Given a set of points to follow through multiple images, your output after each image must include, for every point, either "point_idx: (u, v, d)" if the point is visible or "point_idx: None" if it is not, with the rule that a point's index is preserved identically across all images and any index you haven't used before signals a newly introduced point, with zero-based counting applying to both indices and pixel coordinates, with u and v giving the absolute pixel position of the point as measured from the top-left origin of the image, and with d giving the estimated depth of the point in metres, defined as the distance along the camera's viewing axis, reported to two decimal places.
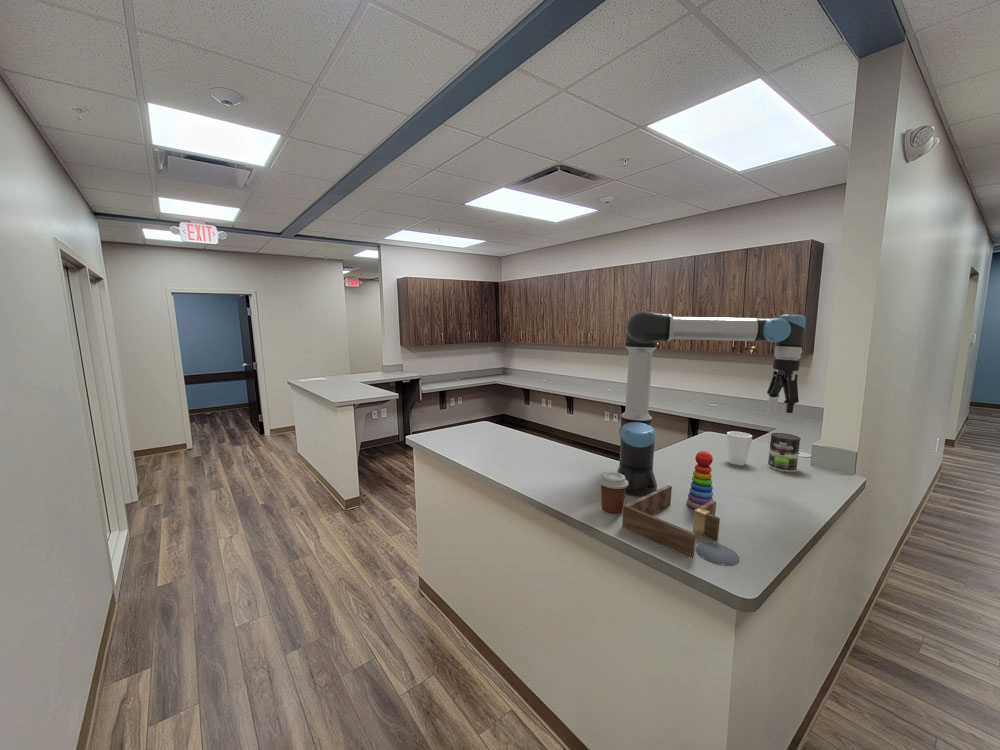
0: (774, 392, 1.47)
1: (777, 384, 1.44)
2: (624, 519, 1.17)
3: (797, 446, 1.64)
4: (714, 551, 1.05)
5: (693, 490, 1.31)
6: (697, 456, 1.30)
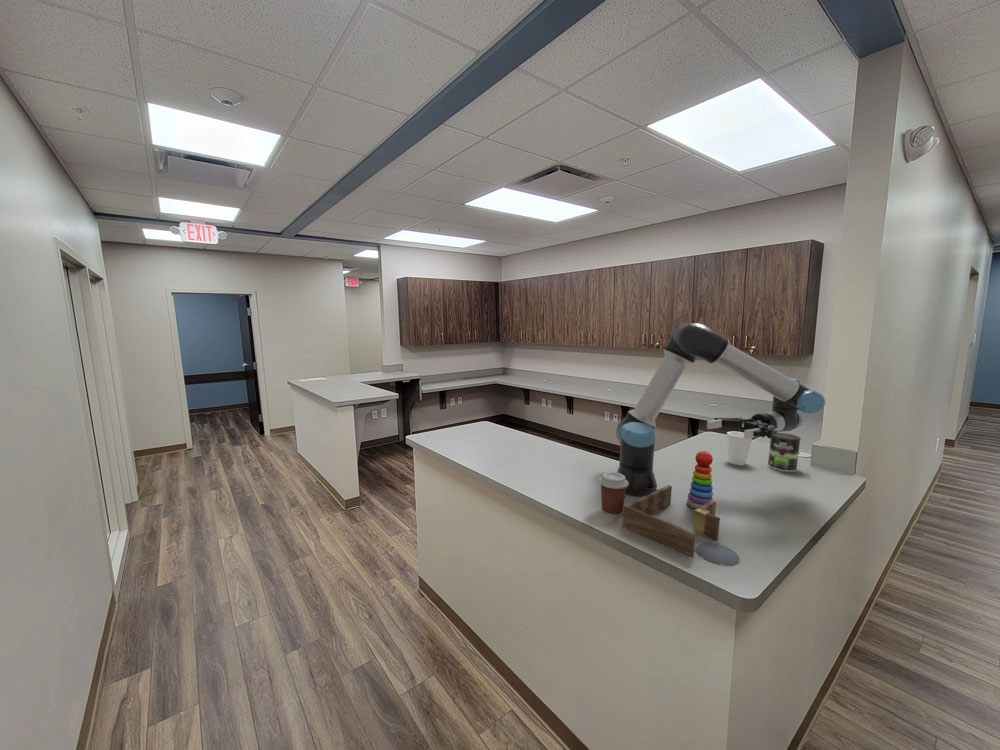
0: (726, 422, 1.42)
1: (740, 422, 1.41)
2: (624, 519, 1.17)
3: (797, 446, 1.64)
4: (714, 551, 1.05)
5: (693, 490, 1.31)
6: (697, 456, 1.30)
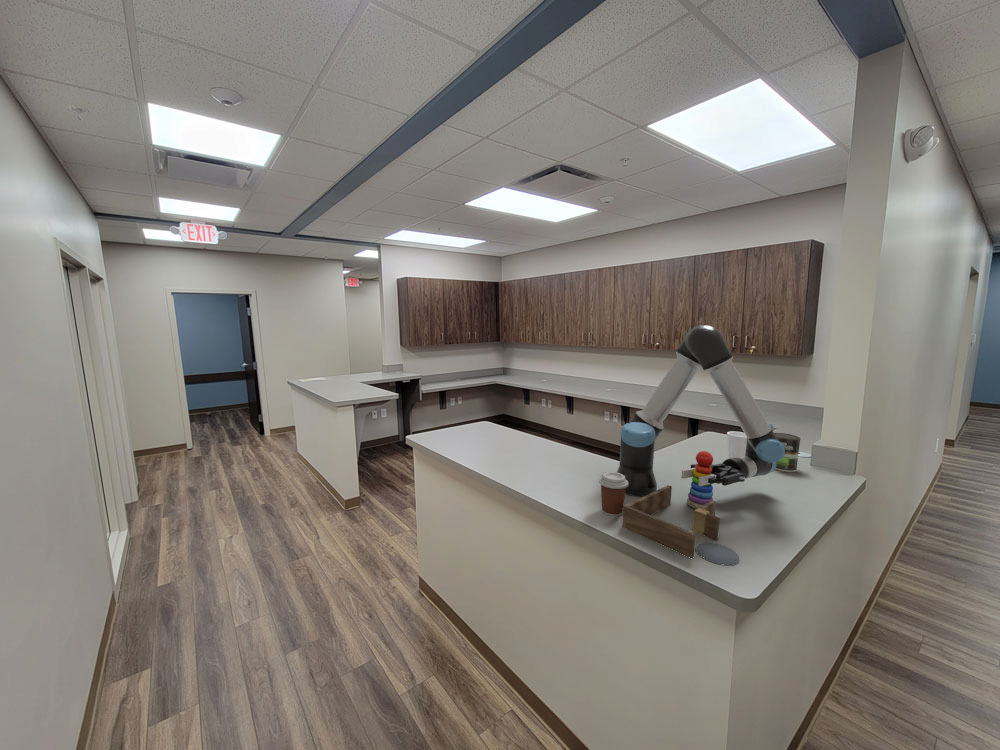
0: None
1: (714, 468, 1.36)
2: (624, 519, 1.17)
3: (797, 446, 1.64)
4: (714, 551, 1.05)
5: (693, 490, 1.31)
6: (697, 456, 1.30)
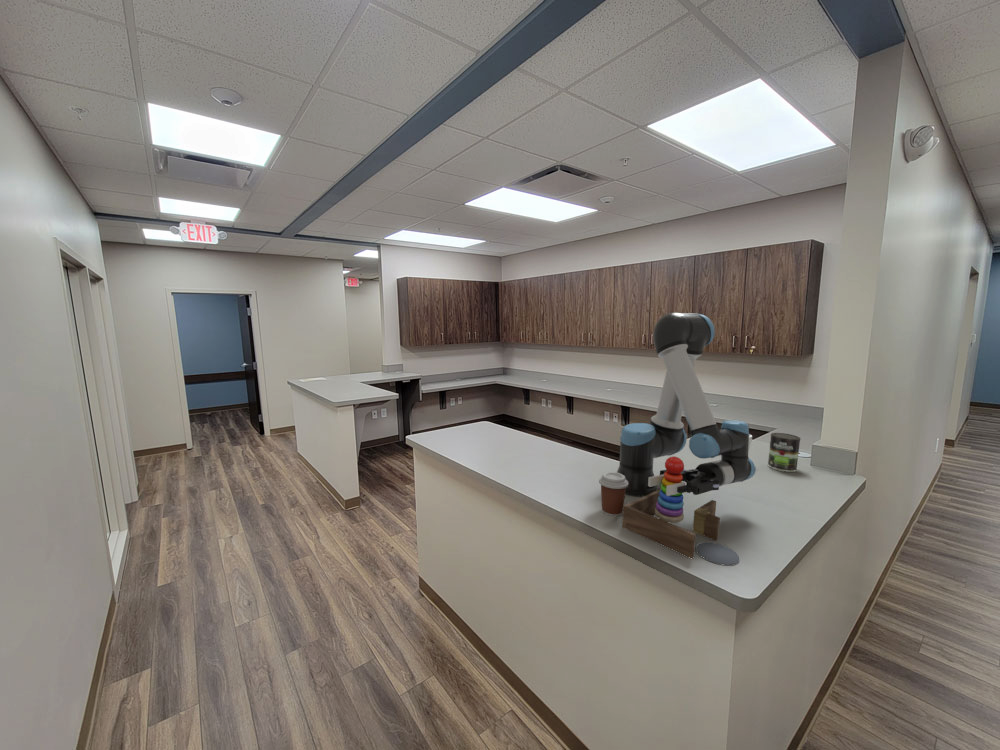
0: None
1: (685, 475, 1.20)
2: (624, 519, 1.17)
3: (797, 446, 1.64)
4: (714, 551, 1.05)
5: (662, 500, 1.16)
6: (666, 463, 1.14)
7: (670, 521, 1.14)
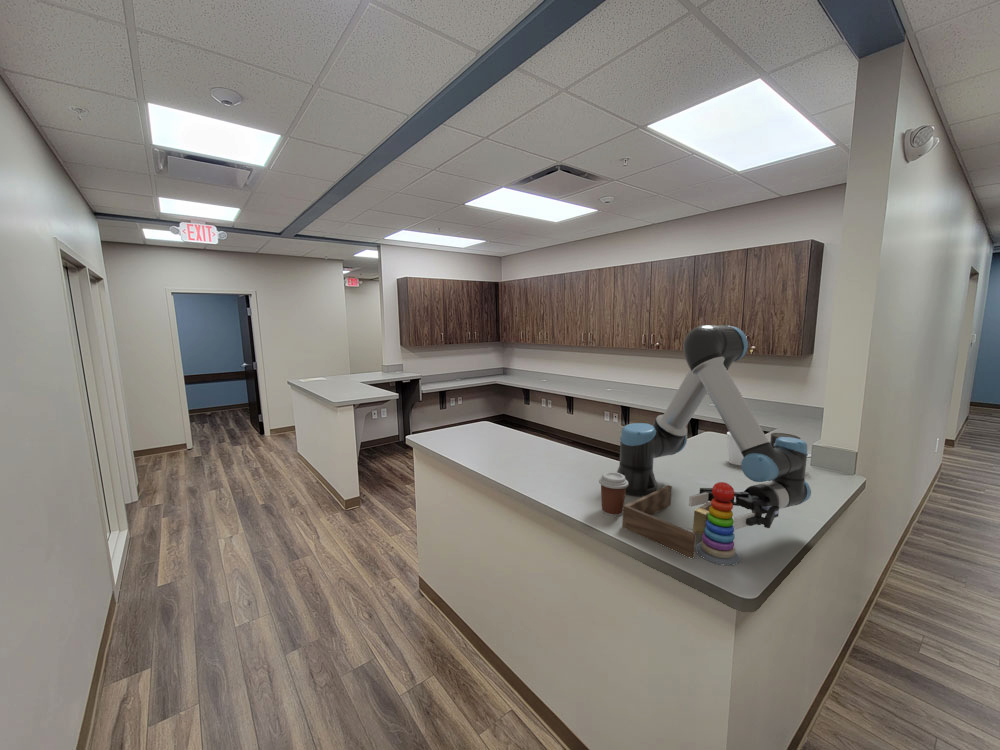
0: None
1: None
2: (624, 519, 1.17)
3: None
4: None
5: (710, 532, 1.03)
6: (714, 489, 1.03)
7: (720, 556, 1.01)
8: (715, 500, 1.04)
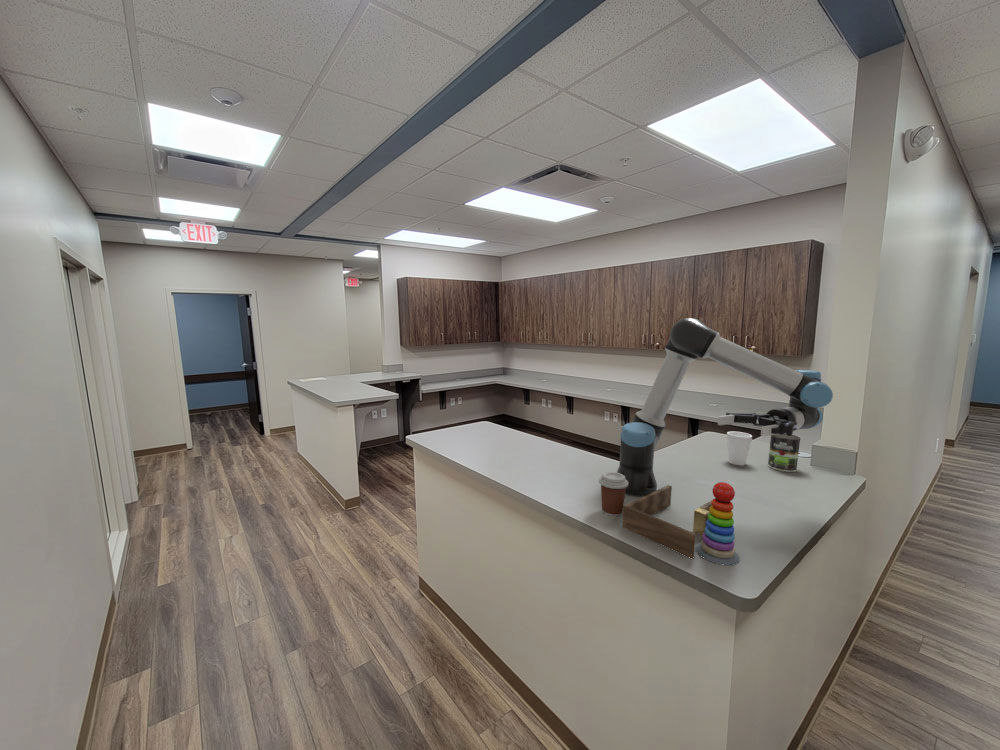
0: (739, 418, 1.28)
1: (754, 418, 1.27)
2: (624, 519, 1.17)
3: (797, 446, 1.64)
4: None
5: (710, 532, 1.03)
6: (715, 489, 1.03)
7: (721, 556, 1.01)
8: (715, 500, 1.03)
